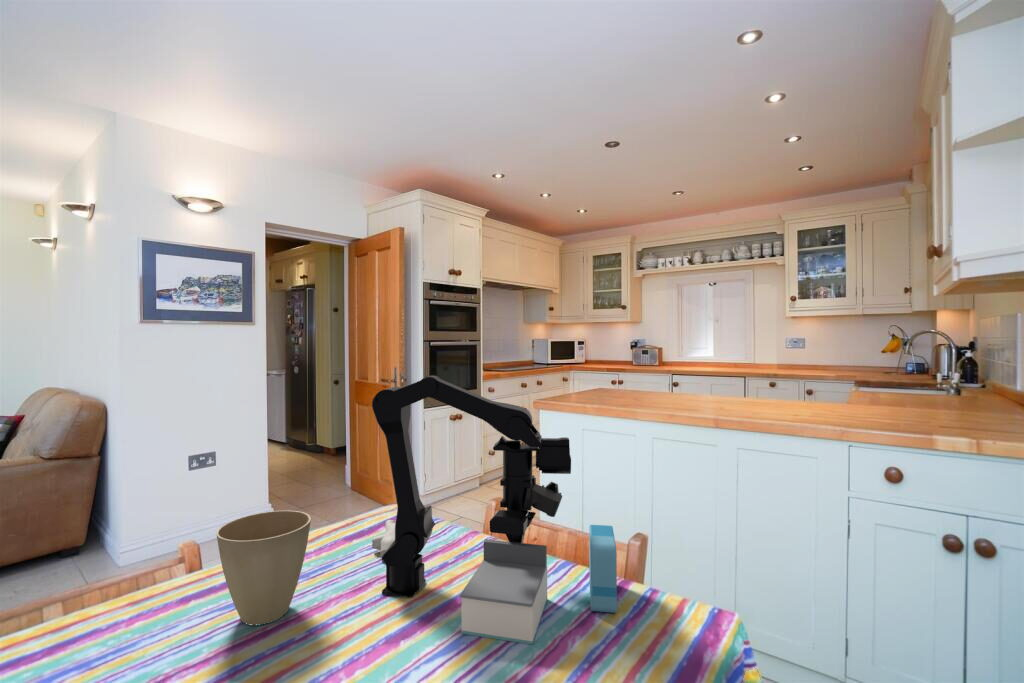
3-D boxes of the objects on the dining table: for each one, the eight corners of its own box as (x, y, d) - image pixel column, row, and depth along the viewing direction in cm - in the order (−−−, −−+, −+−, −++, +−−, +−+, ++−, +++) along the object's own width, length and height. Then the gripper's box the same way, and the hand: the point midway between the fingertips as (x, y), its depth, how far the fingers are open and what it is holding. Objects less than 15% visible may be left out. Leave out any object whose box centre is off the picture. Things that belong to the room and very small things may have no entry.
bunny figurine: (367, 544, 104) (382, 512, 119) (367, 566, 105) (382, 531, 120) (410, 543, 105) (419, 511, 120) (410, 565, 105) (420, 530, 120)
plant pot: (328, 602, 88) (328, 516, 88) (255, 649, 74) (255, 547, 74) (273, 585, 94) (273, 505, 94) (196, 625, 80) (196, 532, 81)
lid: (460, 597, 78) (460, 573, 78) (485, 560, 91) (485, 539, 91) (531, 607, 75) (531, 581, 75) (546, 567, 88) (546, 545, 88)
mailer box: (461, 633, 78) (461, 597, 78) (486, 590, 92) (486, 559, 92) (532, 644, 75) (532, 606, 75) (547, 598, 89) (547, 566, 89)
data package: (616, 616, 83) (616, 548, 83) (590, 614, 84) (590, 546, 84) (612, 582, 95) (612, 523, 95) (589, 581, 96) (589, 522, 96)
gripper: (551, 490, 81) (551, 581, 80) (565, 463, 99) (565, 538, 99) (488, 485, 83) (488, 574, 83) (513, 460, 101) (513, 533, 101)
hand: (517, 553), depth 91 cm, fingers closed
